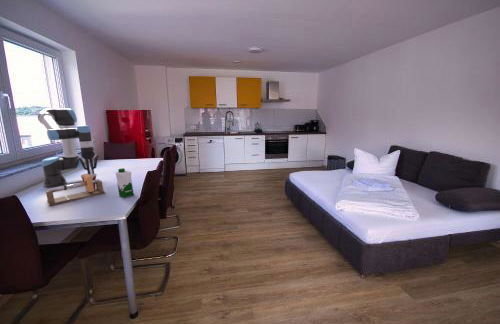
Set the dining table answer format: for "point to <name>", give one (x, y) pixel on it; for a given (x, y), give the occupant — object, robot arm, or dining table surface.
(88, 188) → the collar
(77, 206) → the dining table surface
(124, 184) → the milk carton
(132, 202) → the dining table surface
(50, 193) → the pipe stand
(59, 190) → the steel pipe
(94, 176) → the plastic cup
